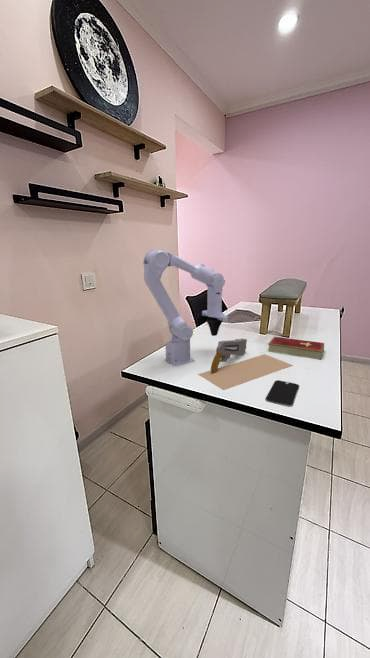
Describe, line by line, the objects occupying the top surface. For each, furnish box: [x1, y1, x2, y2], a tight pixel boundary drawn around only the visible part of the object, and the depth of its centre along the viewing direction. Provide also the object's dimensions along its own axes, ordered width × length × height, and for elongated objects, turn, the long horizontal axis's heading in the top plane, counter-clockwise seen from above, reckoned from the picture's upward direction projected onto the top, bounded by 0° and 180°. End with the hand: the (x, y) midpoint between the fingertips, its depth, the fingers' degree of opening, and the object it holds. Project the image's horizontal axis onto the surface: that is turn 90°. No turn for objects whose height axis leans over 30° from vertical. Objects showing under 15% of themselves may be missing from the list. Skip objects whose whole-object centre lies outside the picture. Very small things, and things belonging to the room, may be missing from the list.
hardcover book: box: [267, 335, 325, 360], centre depth 119 cm, size 12×21×4 cm, turn 60°
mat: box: [197, 353, 294, 391], centre depth 102 cm, size 34×14×1 cm, turn 122°
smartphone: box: [265, 379, 300, 408], centre depth 85 cm, size 8×1×15 cm
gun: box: [210, 338, 248, 373], centre depth 108 cm, size 3×25×15 cm, turn 143°
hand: (214, 335), depth 115 cm, fingers closed
